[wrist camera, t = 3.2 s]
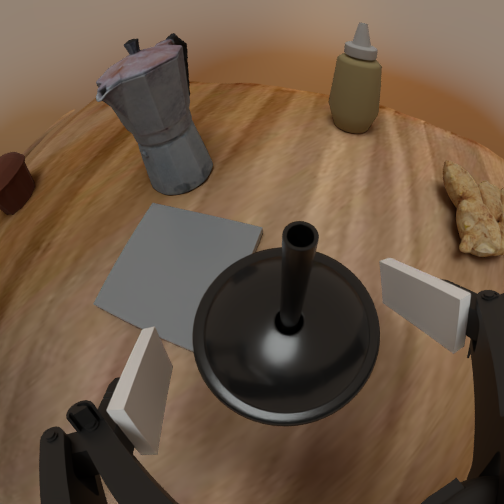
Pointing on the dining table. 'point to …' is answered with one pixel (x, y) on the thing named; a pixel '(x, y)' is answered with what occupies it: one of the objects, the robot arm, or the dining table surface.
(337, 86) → the squeeze bottle
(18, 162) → the muffin
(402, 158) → the dining table surface
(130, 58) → the moka pot
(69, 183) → the dining table surface
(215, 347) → the drinking cup
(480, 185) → the ginger root
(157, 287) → the slate coaster
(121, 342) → the dining table surface
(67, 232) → the dining table surface
